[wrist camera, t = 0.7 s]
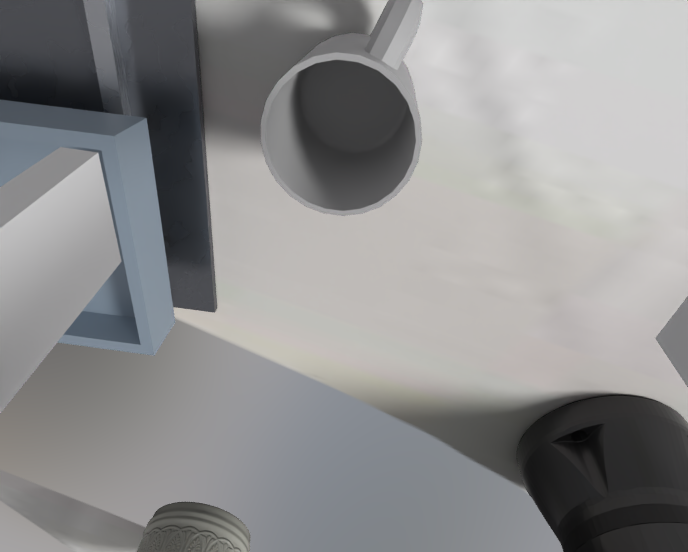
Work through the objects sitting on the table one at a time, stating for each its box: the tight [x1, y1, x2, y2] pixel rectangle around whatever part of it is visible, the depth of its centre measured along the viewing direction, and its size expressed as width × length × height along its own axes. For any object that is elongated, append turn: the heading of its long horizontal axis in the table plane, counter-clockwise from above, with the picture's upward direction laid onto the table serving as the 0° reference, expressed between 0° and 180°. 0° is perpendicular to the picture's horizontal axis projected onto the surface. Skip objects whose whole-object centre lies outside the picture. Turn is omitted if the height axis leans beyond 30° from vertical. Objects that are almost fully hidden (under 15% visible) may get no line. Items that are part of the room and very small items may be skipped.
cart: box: [0, 100, 175, 355], centre depth 29 cm, size 15×19×6 cm
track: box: [0, 0, 217, 312], centre depth 29 cm, size 30×22×2 cm
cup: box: [261, 0, 423, 216], centre depth 23 cm, size 7×10×9 cm
